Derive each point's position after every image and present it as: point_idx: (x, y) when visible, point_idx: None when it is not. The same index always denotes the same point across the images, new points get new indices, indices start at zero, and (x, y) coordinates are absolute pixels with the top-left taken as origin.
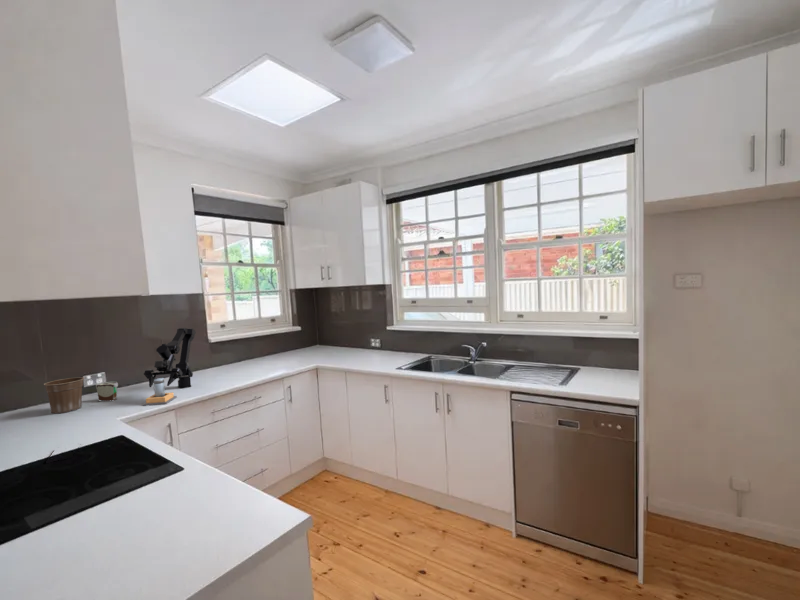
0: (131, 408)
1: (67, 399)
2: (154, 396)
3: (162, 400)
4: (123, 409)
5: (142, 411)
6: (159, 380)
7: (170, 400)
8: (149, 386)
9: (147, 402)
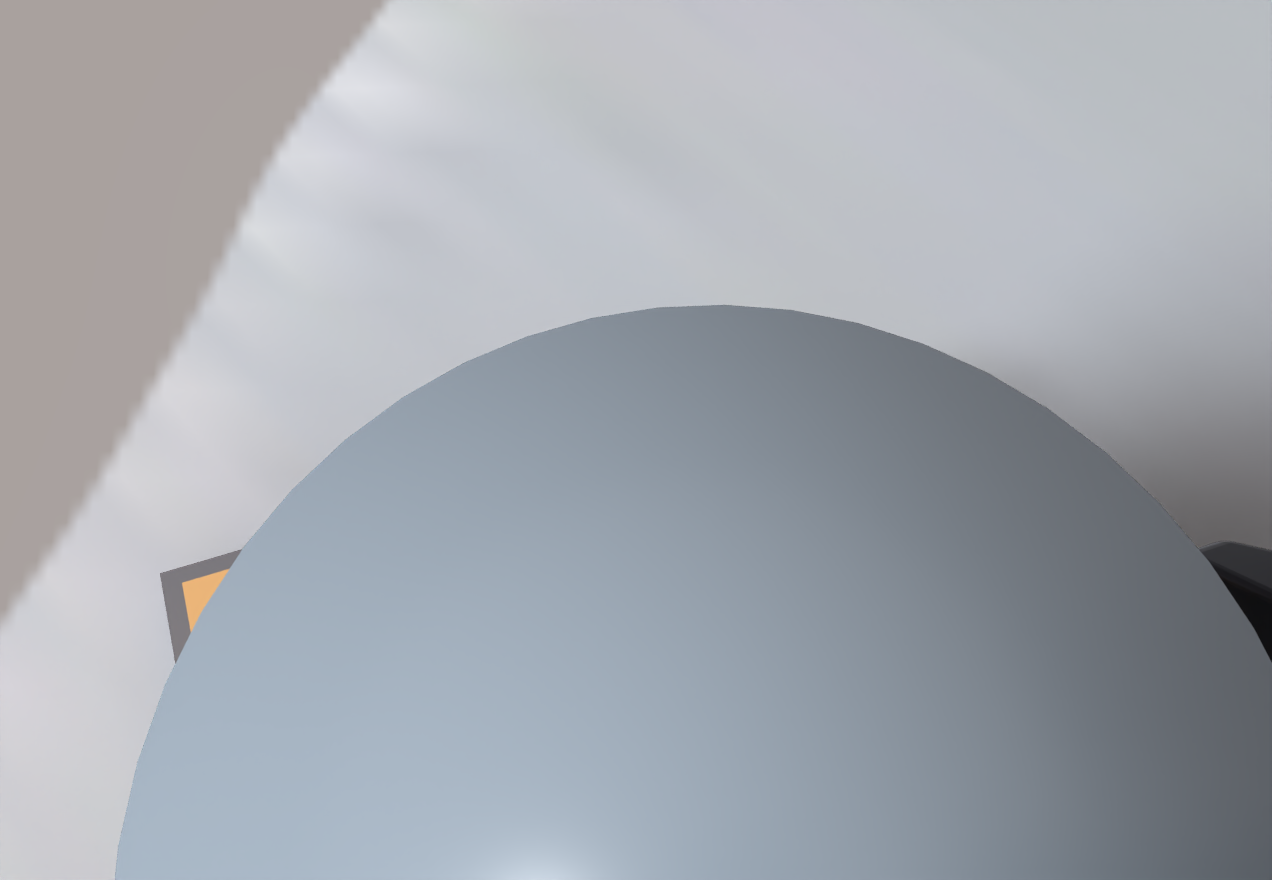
0: (1004, 189)
1: None
2: None
3: None
4: (1154, 115)
5: (439, 12)
6: (336, 516)
7: None
8: (1211, 547)
9: None
